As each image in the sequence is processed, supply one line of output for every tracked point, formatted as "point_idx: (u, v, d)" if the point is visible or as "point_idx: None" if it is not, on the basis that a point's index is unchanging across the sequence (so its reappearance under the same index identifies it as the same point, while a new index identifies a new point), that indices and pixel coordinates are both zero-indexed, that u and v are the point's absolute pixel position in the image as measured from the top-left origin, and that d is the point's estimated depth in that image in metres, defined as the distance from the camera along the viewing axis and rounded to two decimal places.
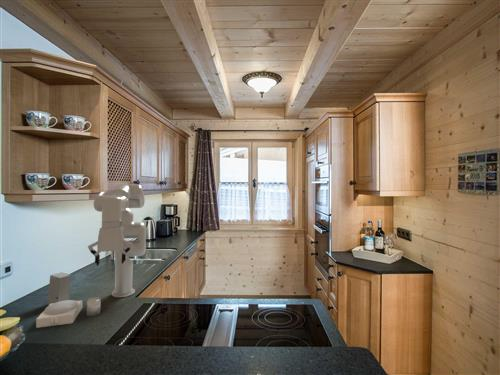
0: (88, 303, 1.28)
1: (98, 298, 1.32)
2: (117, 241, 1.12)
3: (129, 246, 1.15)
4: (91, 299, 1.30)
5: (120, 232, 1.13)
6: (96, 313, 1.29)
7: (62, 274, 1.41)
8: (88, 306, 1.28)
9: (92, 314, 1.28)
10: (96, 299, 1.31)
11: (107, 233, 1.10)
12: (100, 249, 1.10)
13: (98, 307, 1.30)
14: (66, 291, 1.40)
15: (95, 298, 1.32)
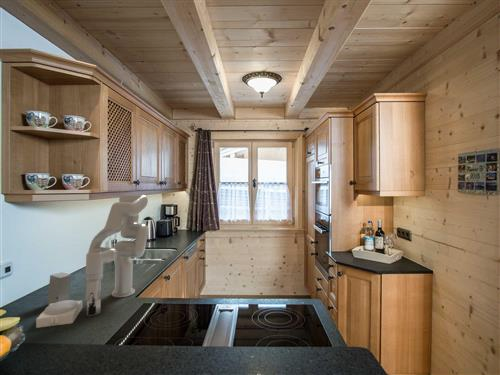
0: (88, 303, 1.28)
1: (98, 298, 1.32)
2: (100, 287, 1.34)
3: None
4: None
5: None
6: (96, 313, 1.29)
7: (62, 274, 1.41)
8: None
9: None
10: None
11: (99, 282, 1.30)
12: (96, 298, 1.28)
13: (98, 307, 1.30)
14: (66, 291, 1.40)
15: None
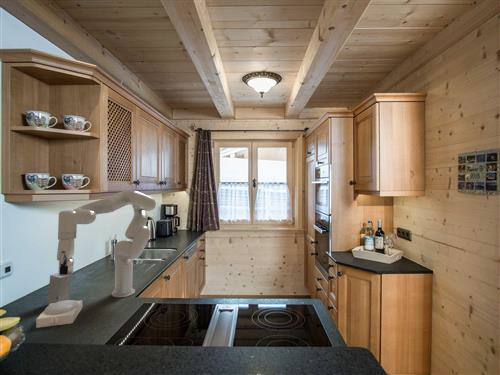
0: None
1: (71, 259, 1.28)
2: (73, 248, 1.31)
3: None
4: None
5: None
6: (68, 273, 1.26)
7: None
8: None
9: (64, 274, 1.24)
10: (69, 259, 1.27)
11: (72, 242, 1.27)
12: (69, 257, 1.25)
13: (70, 267, 1.26)
14: (66, 291, 1.40)
15: None
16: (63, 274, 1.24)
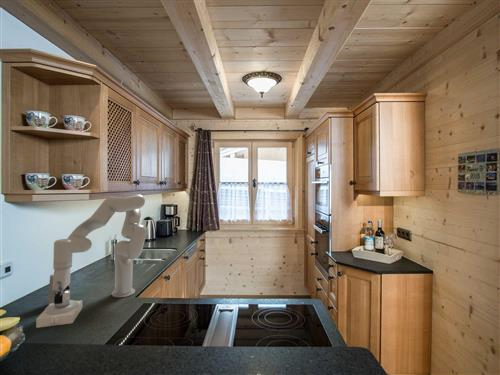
0: None
1: (67, 290, 1.28)
2: (69, 276, 1.30)
3: None
4: None
5: None
6: (64, 306, 1.25)
7: None
8: None
9: (60, 307, 1.24)
10: (65, 291, 1.27)
11: (67, 271, 1.27)
12: (64, 287, 1.24)
13: (67, 299, 1.26)
14: None
15: (64, 290, 1.28)
16: (59, 307, 1.24)
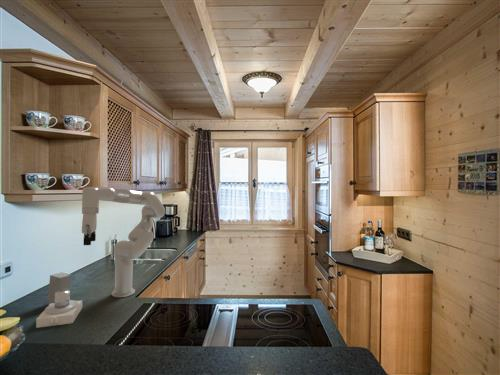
0: (56, 295, 1.24)
1: (67, 290, 1.28)
2: (96, 223, 1.39)
3: None
4: (59, 292, 1.26)
5: (96, 215, 1.40)
6: (64, 306, 1.25)
7: (62, 274, 1.41)
8: (56, 298, 1.24)
9: (60, 307, 1.24)
10: (65, 291, 1.27)
11: (95, 217, 1.36)
12: (92, 230, 1.33)
13: (66, 299, 1.26)
14: None
15: (64, 290, 1.28)
16: (59, 307, 1.24)
